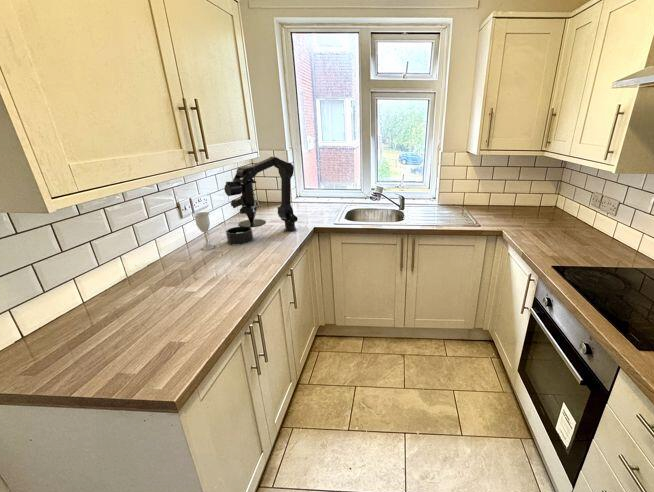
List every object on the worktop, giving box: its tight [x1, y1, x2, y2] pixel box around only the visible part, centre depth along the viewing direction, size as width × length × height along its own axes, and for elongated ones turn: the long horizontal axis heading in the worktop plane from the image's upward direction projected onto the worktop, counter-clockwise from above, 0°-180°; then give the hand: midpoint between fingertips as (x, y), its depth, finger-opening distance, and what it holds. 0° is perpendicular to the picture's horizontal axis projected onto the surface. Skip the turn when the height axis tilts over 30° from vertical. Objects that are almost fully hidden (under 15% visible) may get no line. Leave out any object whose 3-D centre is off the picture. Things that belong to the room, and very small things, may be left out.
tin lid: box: [237, 218, 267, 228], centre depth 165 cm, size 14×14×6 cm
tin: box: [225, 226, 254, 246], centre depth 169 cm, size 13×13×6 cm
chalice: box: [192, 211, 215, 251], centre depth 157 cm, size 7×7×18 cm
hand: (252, 222), depth 166 cm, fingers closed on tin lid, 2 cm apart
